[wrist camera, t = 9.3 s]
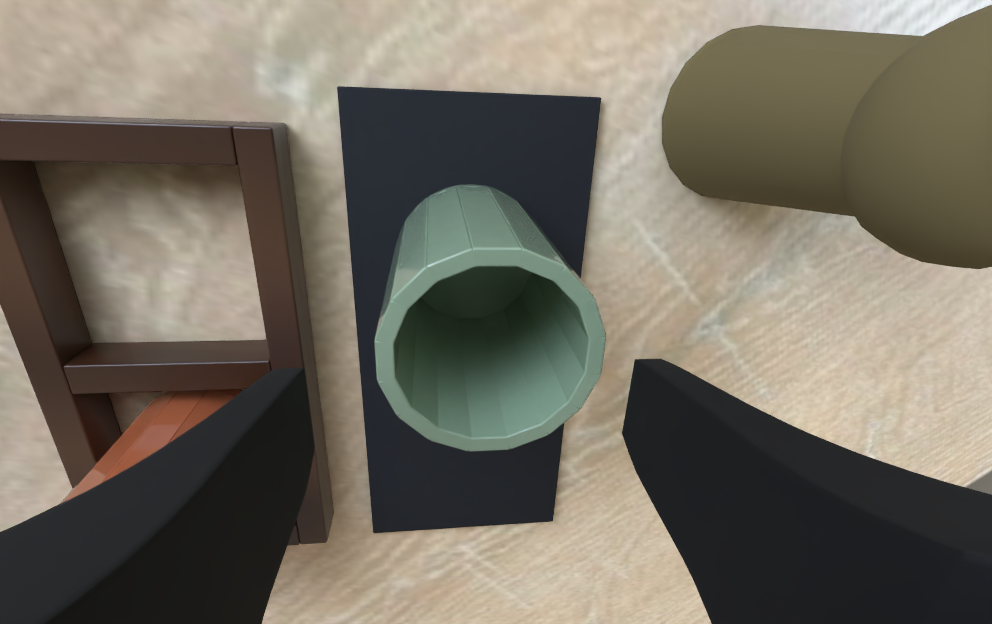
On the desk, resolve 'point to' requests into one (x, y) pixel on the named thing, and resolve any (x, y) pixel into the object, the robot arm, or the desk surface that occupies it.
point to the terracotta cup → (154, 431)
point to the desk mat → (373, 235)
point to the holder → (151, 365)
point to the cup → (484, 325)
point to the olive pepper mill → (847, 130)
